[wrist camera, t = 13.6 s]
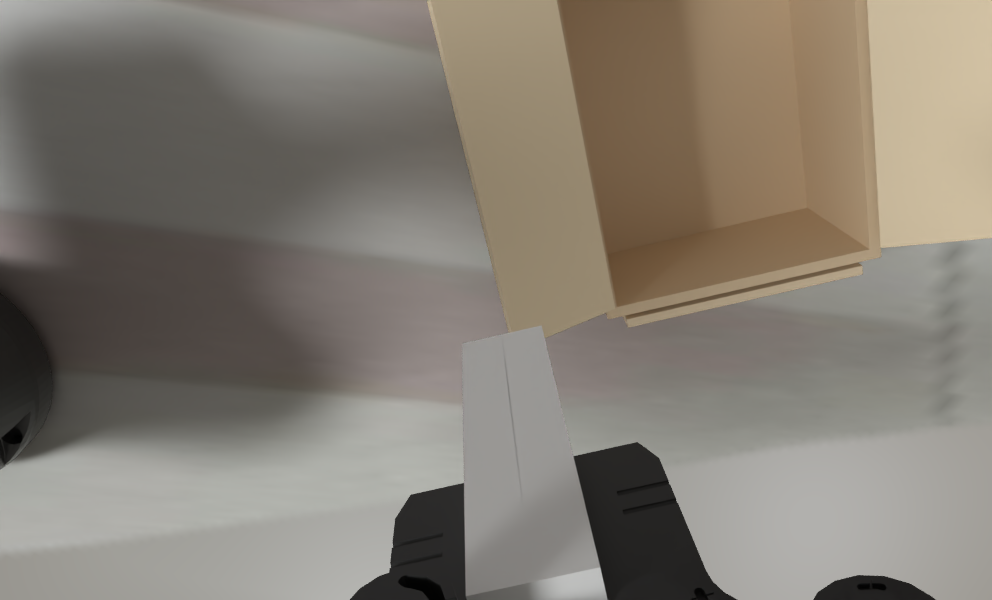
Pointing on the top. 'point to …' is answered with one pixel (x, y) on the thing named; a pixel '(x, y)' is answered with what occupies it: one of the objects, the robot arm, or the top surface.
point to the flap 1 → (525, 158)
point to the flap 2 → (932, 119)
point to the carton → (724, 146)
